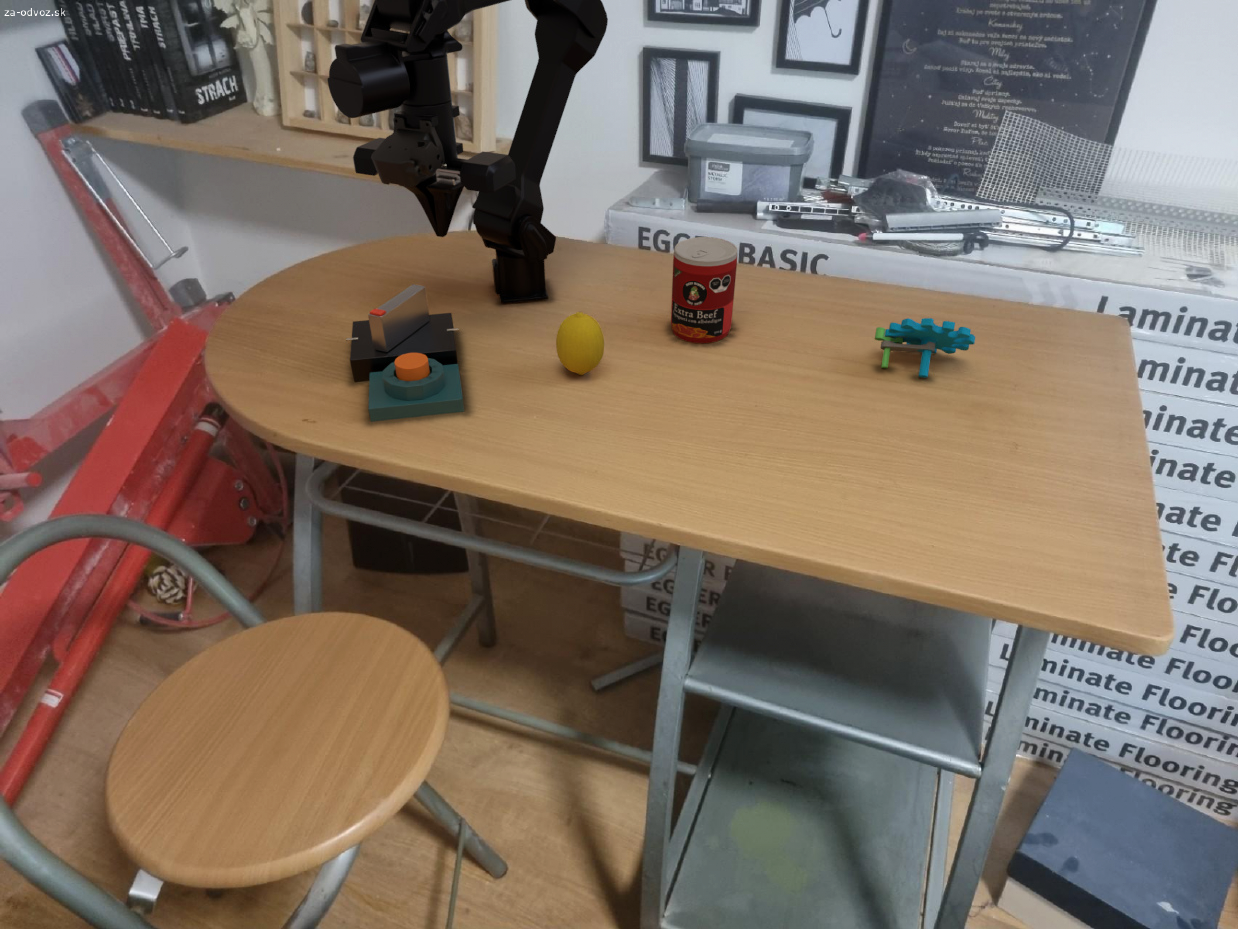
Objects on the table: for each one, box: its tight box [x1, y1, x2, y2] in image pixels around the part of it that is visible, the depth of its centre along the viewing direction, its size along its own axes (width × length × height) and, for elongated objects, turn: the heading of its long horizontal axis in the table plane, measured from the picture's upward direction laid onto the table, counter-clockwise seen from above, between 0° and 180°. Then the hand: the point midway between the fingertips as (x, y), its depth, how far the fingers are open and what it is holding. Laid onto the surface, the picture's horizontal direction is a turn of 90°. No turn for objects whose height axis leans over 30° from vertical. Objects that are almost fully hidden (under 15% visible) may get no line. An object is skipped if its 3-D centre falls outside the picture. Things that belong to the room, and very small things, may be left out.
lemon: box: [555, 311, 605, 376], centre depth 100 cm, size 6×6×8 cm
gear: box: [874, 317, 976, 379], centre depth 102 cm, size 11×6×10 cm
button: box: [394, 353, 430, 381], centre depth 96 cm, size 4×4×2 cm
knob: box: [367, 283, 430, 352], centre depth 103 cm, size 9×2×5 cm, turn 157°
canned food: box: [670, 236, 739, 344], centre depth 109 cm, size 8×8×11 cm
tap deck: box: [345, 312, 460, 383], centre depth 105 cm, size 13×13×3 cm
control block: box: [367, 358, 465, 423], centre depth 97 cm, size 10×8×4 cm
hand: (441, 235), depth 106 cm, fingers closed
